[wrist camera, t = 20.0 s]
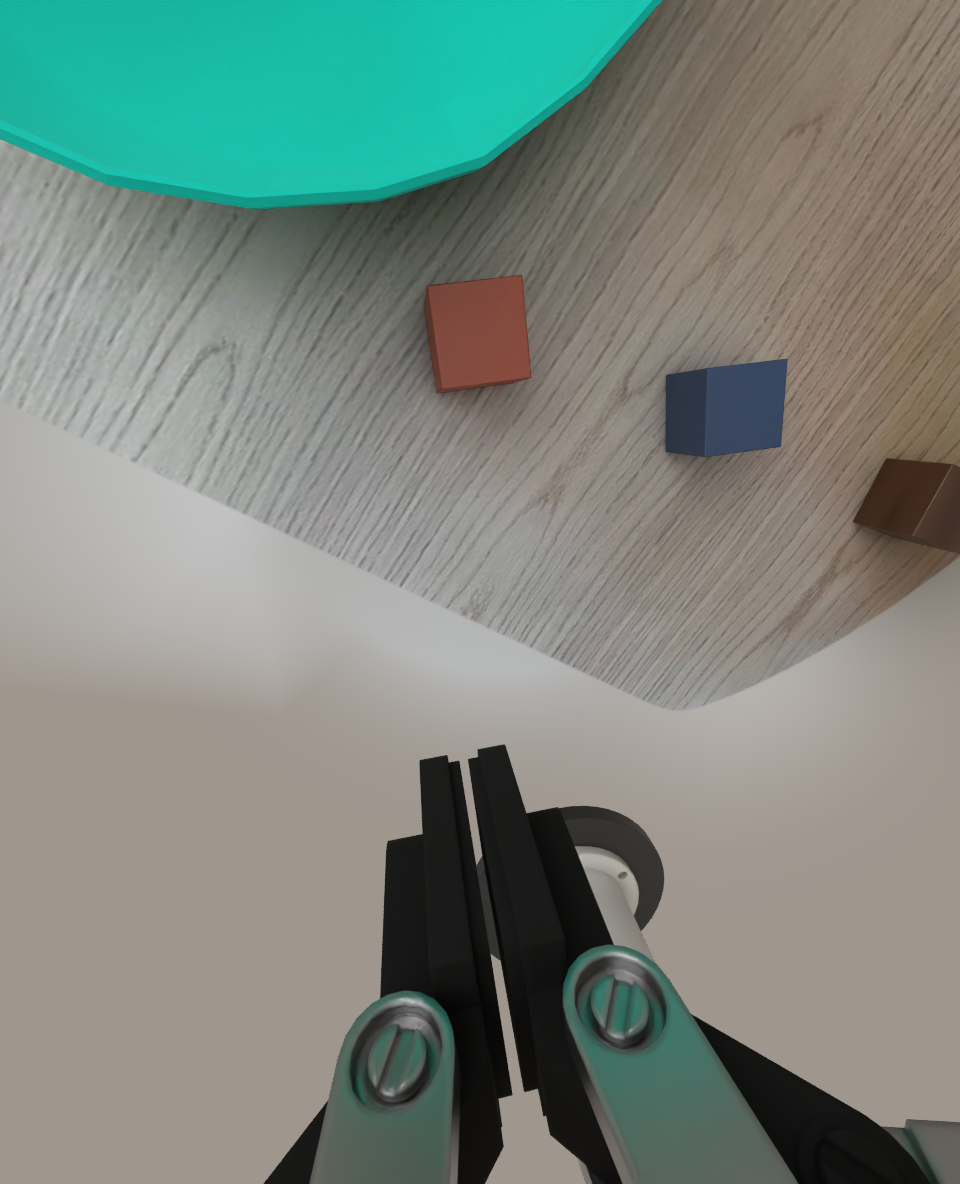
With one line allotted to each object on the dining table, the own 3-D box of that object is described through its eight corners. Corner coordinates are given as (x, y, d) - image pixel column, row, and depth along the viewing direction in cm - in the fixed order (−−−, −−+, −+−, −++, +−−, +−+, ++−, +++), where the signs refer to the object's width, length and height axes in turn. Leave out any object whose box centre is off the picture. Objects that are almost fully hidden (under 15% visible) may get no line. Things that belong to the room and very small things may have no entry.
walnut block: (936, 478, 40) (1007, 486, 35) (902, 539, 41) (966, 555, 36) (886, 458, 39) (953, 463, 34) (852, 521, 40) (912, 535, 35)
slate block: (732, 443, 37) (781, 446, 32) (665, 452, 36) (704, 457, 31) (736, 366, 35) (787, 358, 30) (665, 375, 34) (707, 368, 30)
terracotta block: (513, 383, 33) (531, 377, 29) (436, 393, 33) (441, 389, 28) (504, 295, 32) (522, 274, 27) (423, 305, 31) (427, 285, 26)
